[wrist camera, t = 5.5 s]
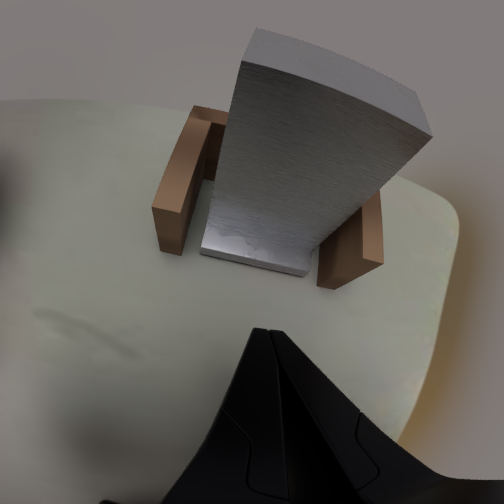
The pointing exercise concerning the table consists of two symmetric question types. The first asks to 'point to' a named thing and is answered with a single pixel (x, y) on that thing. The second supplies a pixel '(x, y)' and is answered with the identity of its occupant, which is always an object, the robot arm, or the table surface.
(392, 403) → the table surface
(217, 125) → the walnut u-shaped bracket
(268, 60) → the angle bracket
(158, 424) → the table surface
